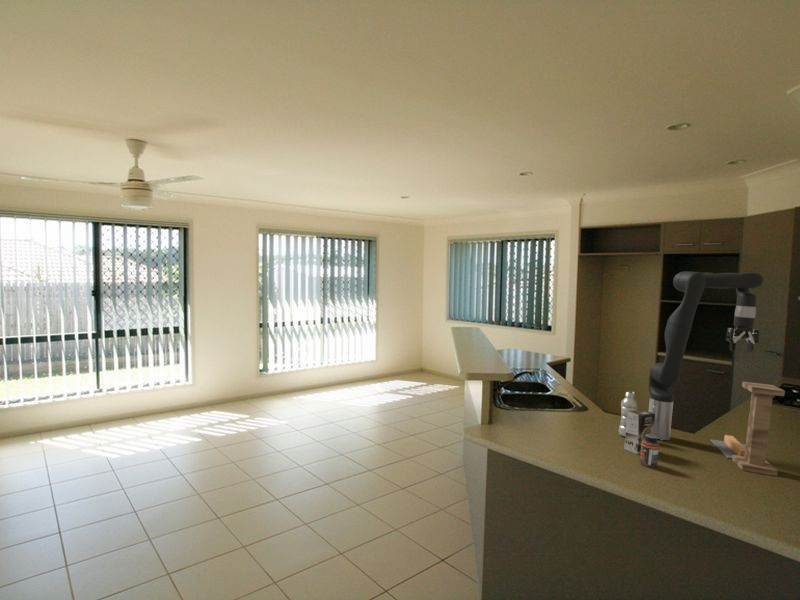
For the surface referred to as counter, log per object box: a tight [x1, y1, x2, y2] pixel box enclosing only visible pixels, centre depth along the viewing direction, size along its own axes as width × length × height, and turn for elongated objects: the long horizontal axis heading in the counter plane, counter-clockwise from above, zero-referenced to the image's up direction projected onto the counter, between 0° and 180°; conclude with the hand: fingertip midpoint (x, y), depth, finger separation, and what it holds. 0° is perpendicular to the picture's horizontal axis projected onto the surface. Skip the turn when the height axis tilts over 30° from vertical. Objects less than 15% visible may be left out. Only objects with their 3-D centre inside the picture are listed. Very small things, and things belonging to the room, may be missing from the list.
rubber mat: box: [710, 439, 746, 460], centre depth 195 cm, size 22×14×1 cm, turn 161°
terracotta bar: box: [723, 434, 745, 457], centre depth 196 cm, size 20×3×3 cm, turn 160°
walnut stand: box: [731, 381, 786, 477], centre depth 178 cm, size 11×11×32 cm
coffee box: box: [623, 409, 655, 455], centre depth 189 cm, size 9×6×16 cm
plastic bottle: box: [618, 390, 638, 438], centre depth 206 cm, size 6×7×20 cm
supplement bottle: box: [639, 434, 660, 469], centre depth 175 cm, size 6×6×11 cm
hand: (740, 351), depth 211 cm, fingers open, 8 cm apart
